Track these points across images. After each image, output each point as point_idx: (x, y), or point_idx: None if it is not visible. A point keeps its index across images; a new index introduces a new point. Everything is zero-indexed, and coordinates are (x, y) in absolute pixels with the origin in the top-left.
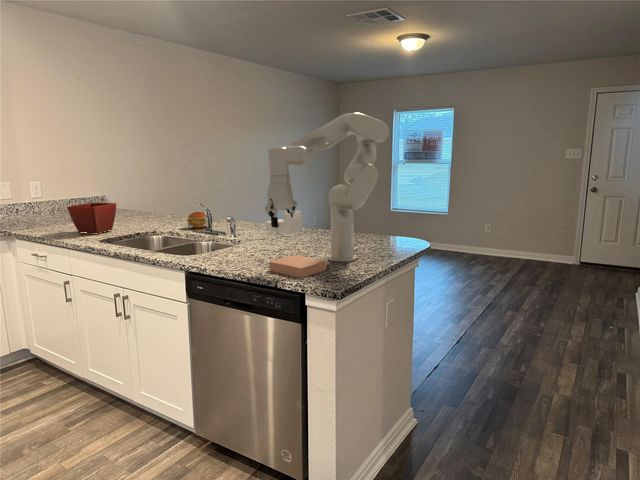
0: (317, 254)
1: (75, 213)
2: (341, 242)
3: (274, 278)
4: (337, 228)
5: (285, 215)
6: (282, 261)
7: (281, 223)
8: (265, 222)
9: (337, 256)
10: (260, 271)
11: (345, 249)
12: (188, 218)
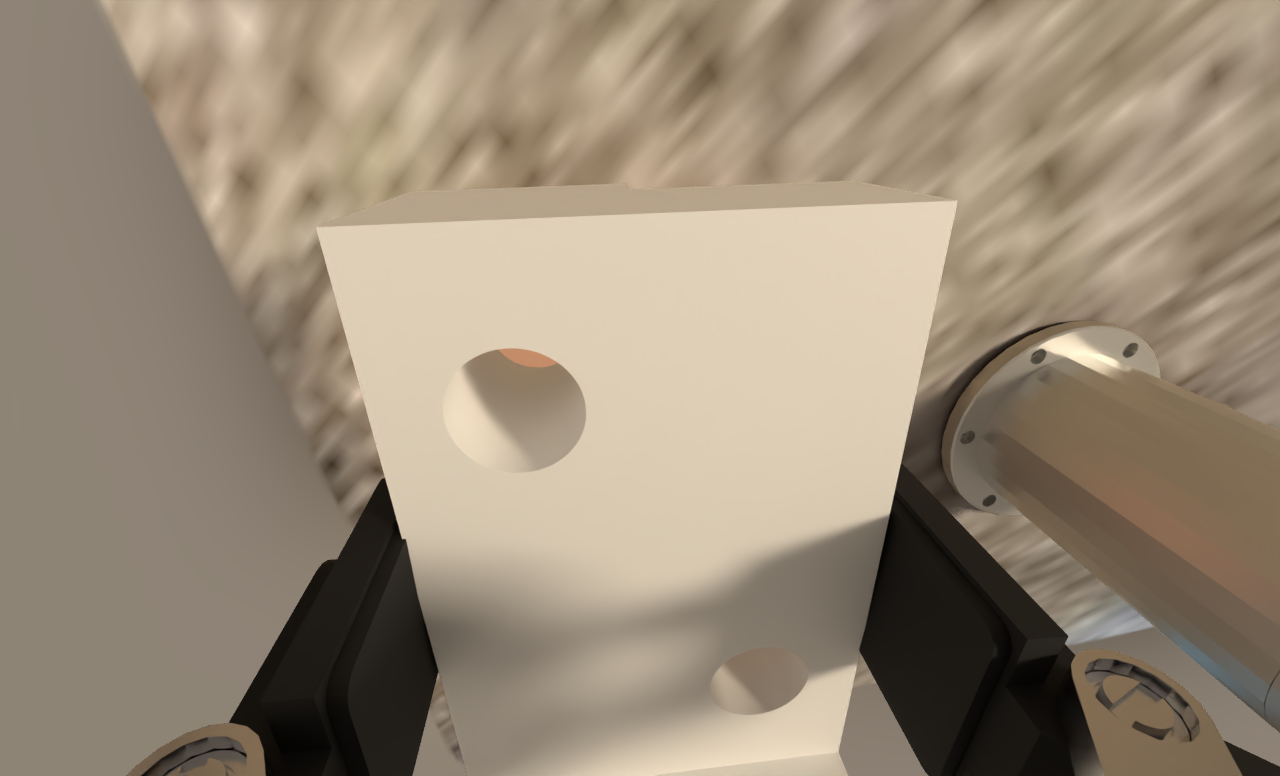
0: (1135, 161)
1: None
2: (1081, 556)
3: (344, 448)
4: (1215, 641)
5: None
6: (534, 358)
7: (466, 742)
8: (327, 239)
9: (988, 457)
10: (366, 207)
11: (1043, 531)
12: None
